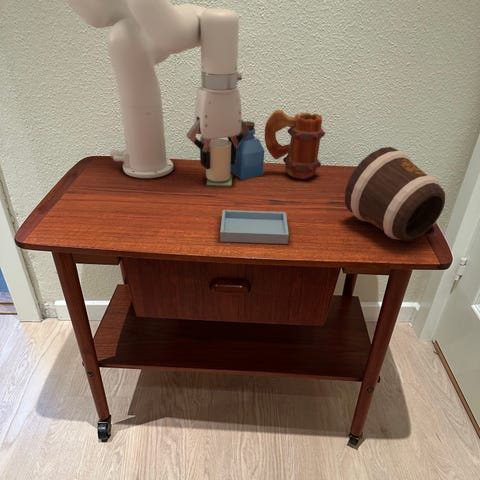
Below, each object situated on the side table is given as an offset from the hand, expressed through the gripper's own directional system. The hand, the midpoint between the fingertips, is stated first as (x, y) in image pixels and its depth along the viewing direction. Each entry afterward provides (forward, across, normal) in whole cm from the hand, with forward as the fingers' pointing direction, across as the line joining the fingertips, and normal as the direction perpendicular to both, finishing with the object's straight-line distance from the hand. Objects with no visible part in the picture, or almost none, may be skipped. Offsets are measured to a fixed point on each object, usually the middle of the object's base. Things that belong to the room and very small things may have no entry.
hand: (218, 164), depth 102 cm
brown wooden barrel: (-3, -23, +29) cm, 37 cm away
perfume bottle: (+4, -9, -1) cm, 10 cm away
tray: (+4, +4, +25) cm, 26 cm away
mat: (+4, 0, 0) cm, 4 cm away
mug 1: (+4, -18, +4) cm, 19 cm away
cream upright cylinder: (+3, 0, 0) cm, 3 cm away
